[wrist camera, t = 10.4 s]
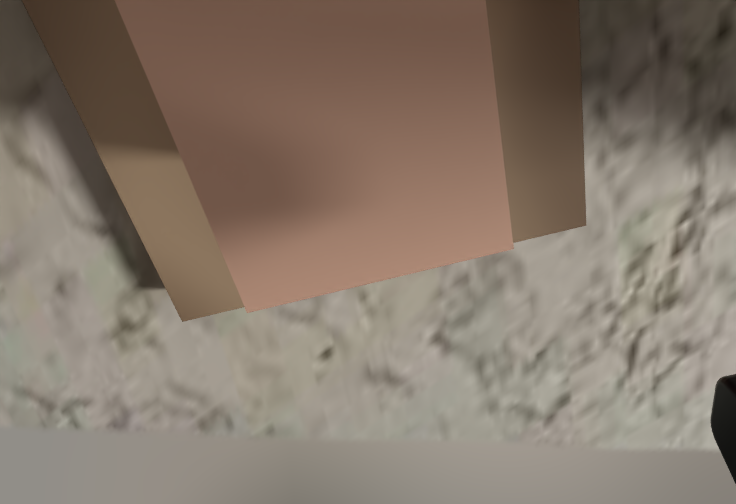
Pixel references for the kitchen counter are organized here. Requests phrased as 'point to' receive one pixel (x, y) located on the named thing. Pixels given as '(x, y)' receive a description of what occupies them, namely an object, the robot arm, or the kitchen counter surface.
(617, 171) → the kitchen counter surface
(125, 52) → the tan banded flat block
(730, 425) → the robot arm
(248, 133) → the product carton
